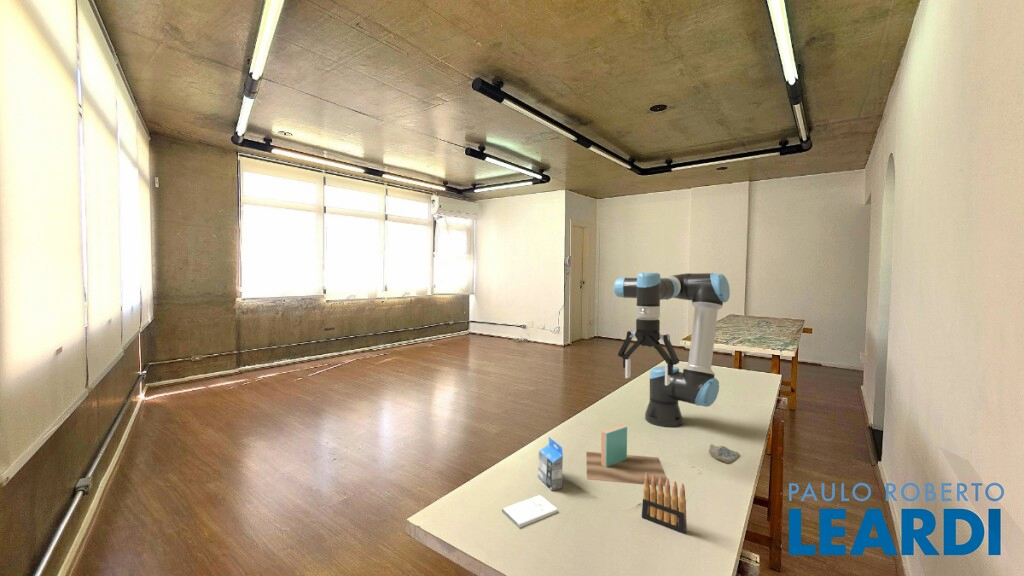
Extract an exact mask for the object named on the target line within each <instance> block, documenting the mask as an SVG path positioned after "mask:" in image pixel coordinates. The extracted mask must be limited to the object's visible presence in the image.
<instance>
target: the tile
mask: <svg viewBox="0 0 1024 576" xmlns="http://www.w3.org/2000/svg"><path fill="white" fill-rule="evenodd" d="M600 445H601V447H600V448H601V449H600V450H601V452H600V453H601V465H603V466H605V467H608V466H611V465H613V464H616V463H618V462H621V461H623V460H626V459H627V455H628V451H627V450H628V426H626V425H624V424H621V425H617V426H614V427H611V428H608V429H605V430H602V431H601V443H600Z"/></svg>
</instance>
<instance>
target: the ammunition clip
mask: <svg viewBox="0 0 1024 576" xmlns="http://www.w3.org/2000/svg"><path fill="white" fill-rule="evenodd" d="M642 489H643V490H642V491H643V492H642V493H643V495H642V496H643V497H642V505H641V507H642V508H641V518H642V519H643V520H646V521H649V522H651V523H654V524H657V525H659V526H661V527H665V528H667V529H670V530H673V531H675V532H677V533H680V534H683V535H686V534H687V533H686V532H687V529H688V528H687V500H686V488H685V484H684V483H683V482H682V483H681V485H680V489H679V488H678V484H677V482H676V480H674V481H673V484H672V490H671V483H670V480H669V478H667V480H666V484H665V486H663V481H662V477H661V476H660V478H659V481H658V486H656V478H655V475H654V474H653V476H652V480H651V485H649V475H648V473H647V472H646V475H645V481H644V484H643V488H642ZM678 489H679V491H678ZM678 492H679V494H678Z"/></svg>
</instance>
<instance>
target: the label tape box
mask: <svg viewBox="0 0 1024 576" xmlns="http://www.w3.org/2000/svg"><path fill="white" fill-rule="evenodd" d="M563 452H564V451H563V447H562V446H561V445H560V444H559V443H558V442H556V441H555V440H554V439H553V438H551V437H550V436H548V444H547V445H546V446H544V447H543V448H541V449H539V450H538V465H537V466H538V469H537V477H538V478H539V480H541V482H543V483H544V485H546V486H547V487H548V488H549V490H550V491H555V490H560V489H562V488H563V459H564V453H563Z"/></svg>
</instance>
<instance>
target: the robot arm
mask: <svg viewBox="0 0 1024 576" xmlns="http://www.w3.org/2000/svg"><path fill="white" fill-rule="evenodd" d="M613 292H614V294H615V296H616V297H617V298H623V299H626V298H627V299H636V316H635V317H637V318H636V320H635V331H633V330H628V331H627V332H626V338H625V339H624V340H623V341H624V342H623V344H622V346H620V347H621V348H620V349H619V351H618V352H617V356H618V357H620V358H621V359H622V367H623V368H624V375H625V377H624V379H629V378H631V373H632V372H631V371H632V369H631V365H632V364H631V363H632V360H631V359H632V358H631V355H632V354H633V353H635V351H636V350H637V349H638V348H639V347H640V346H641V347H648V348H649V347H650V348H654V349H655V350H656V352H657V353H658V354H659V355H660V356H661V357H662V359H663V361H664V362H665V363H666V364H665V365H662V366H655V367H652V368H651V369H650V371H649V401H648V405H647V407H646V409H645V413H644V419H645V421H646V422H648V423H650V424H653V425H656V426H660V427H665V428H666V427H667V428H672V427H673V428H674V427H675V428H676V427H679V426H681V425H683V421H684V420H683V419H684V418H683V415H682V411H681V409H680V408H681V407H680V406H679V401H680V402H684V403H688V404H692V405H696V406H698V407H699V406H701V407H704V408H705V407H711V406H712V405H713V404H714V403H715V402H716V399H717V397H718V396H719V392H720V391H719V390H720V381H719V380H718V379H717V378H716V377H715V374H716V373H715V372H714V371H713V370H712V363H713V356H714V355H713V353H714V345H715V337H716V329H717V320H718V312H719V310H720V309H722V308H723V304H724V303H726V302H728V301H729V300H730V295H731V294H730V293H731V291H730V285H729V281H728V279H727V277H726V276H725V275H724V274H722V273H713V272H711V273H709V272H708V273H707V272H705V273H703V272H702V273H692V272H691V273H689V272H688V273H679V274H673V275H666V276H663V277H661V275H660V273H658V272H639V273H638V274H637V275H636V277H619V278H618V277H617V279H616V280H615V281H614V284H613ZM670 299H679V300H683V301H691V305H692V306H693V307H694V314H693V322H692V328H691V329H692V330H691V337H690V338H691V339H690V346H689V353H688V362H687V365H686V366H684V367H683V370H682V371H680V368H679V367H677V366H676V365H678V364H679V363H680V359H679V358H678V355H677V353H676V351H675V348H674V347H673V344H672V342H671V337H670V334H668V333H666V334H661V333H660V329H661V328H660V327H661V325H660V324H661V323H660V322H661V321H660V319H659V318H661V300H662V301H663V300H667V301H668V300H670ZM634 337H635V338H636V341H635V342H634V343H633V344H632V345H631V347H630V348H629V349H628V347H629V345H630V344H631V342H632V340H633V338H634ZM660 340H661V341H662V342H663V344H664V346H665V348H666V350H665V349H664V347H663V346H662V344H661V343H660ZM627 349H628V350H627ZM674 365H675V366H674Z"/></svg>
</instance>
